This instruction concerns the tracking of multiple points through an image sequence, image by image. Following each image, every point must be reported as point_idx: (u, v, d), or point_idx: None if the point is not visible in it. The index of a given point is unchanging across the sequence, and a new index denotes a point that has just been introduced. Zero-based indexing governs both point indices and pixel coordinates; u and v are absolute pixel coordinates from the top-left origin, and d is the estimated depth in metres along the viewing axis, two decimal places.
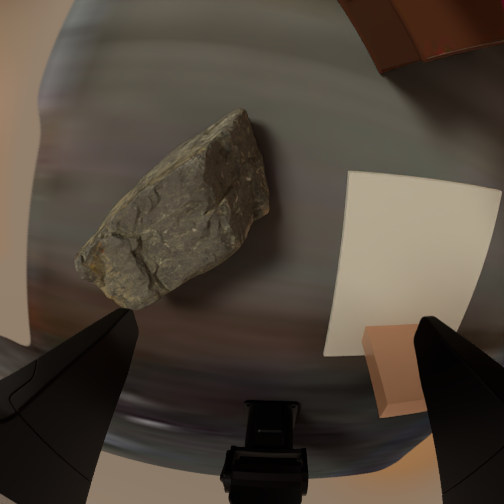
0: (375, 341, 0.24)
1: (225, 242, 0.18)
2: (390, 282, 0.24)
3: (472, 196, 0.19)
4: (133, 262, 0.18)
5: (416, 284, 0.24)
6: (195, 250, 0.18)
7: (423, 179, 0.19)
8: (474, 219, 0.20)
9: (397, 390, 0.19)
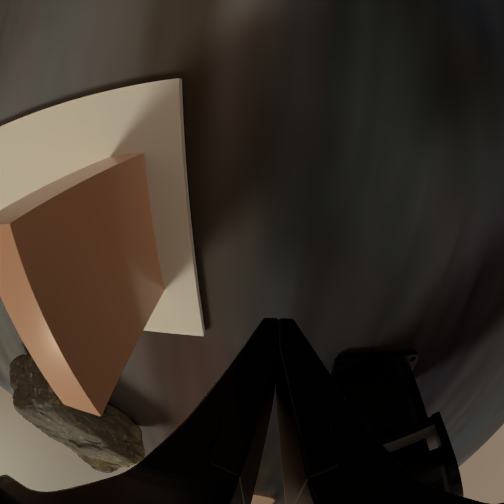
0: None
1: (48, 409, 0.19)
2: None
3: None
4: (85, 448, 0.21)
5: None
6: (60, 423, 0.20)
7: None
8: None
9: None
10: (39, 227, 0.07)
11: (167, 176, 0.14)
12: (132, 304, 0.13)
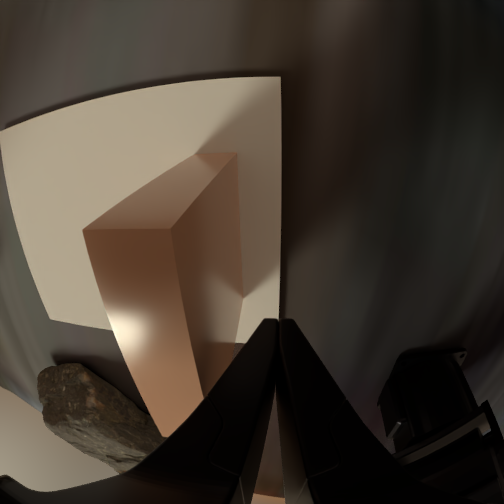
0: None
1: (87, 425, 0.19)
2: None
3: (13, 181, 0.15)
4: (125, 463, 0.21)
5: None
6: (100, 438, 0.19)
7: (25, 252, 0.17)
8: (28, 166, 0.14)
9: None
10: (190, 234, 0.06)
11: (262, 179, 0.14)
12: (231, 317, 0.12)
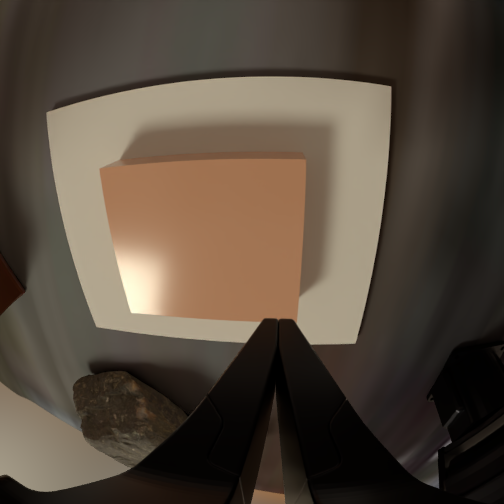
0: None
1: (138, 438, 0.18)
2: None
3: (63, 170, 0.14)
4: None
5: None
6: (151, 451, 0.19)
7: (72, 252, 0.17)
8: (87, 153, 0.14)
9: None
10: (120, 179, 0.12)
11: (369, 183, 0.13)
12: (217, 290, 0.14)
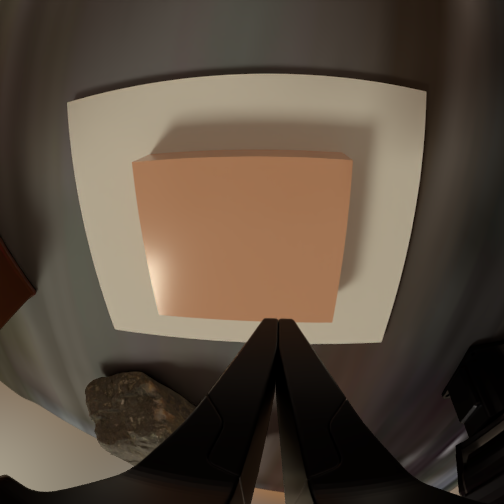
0: None
1: (156, 441, 0.18)
2: None
3: (85, 164, 0.14)
4: None
5: None
6: None
7: (91, 251, 0.16)
8: (113, 146, 0.13)
9: None
10: (155, 174, 0.12)
11: (403, 184, 0.13)
12: (254, 291, 0.14)
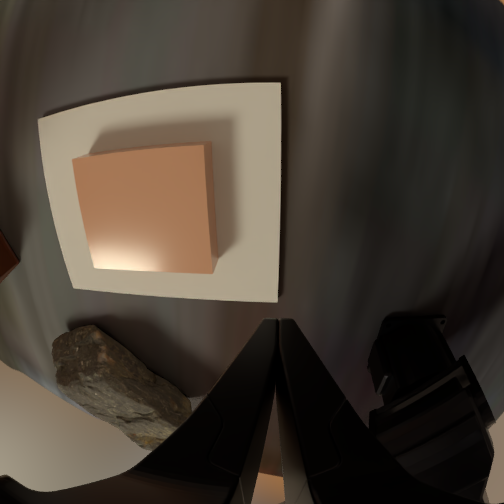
0: None
1: (97, 380, 0.22)
2: None
3: (50, 162, 0.18)
4: (134, 423, 0.24)
5: None
6: (110, 395, 0.22)
7: (55, 225, 0.21)
8: (66, 149, 0.18)
9: None
10: (85, 166, 0.16)
11: (266, 161, 0.17)
12: (151, 246, 0.18)
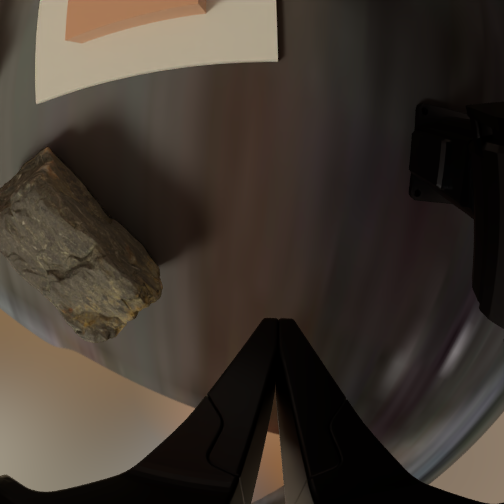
0: None
1: (28, 192, 0.14)
2: None
3: None
4: (69, 281, 0.16)
5: None
6: (40, 219, 0.15)
7: (37, 35, 0.13)
8: None
9: None
10: None
11: None
12: None
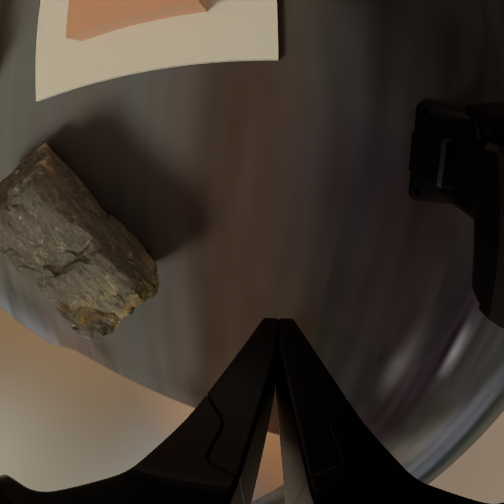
0: None
1: (25, 187, 0.14)
2: None
3: None
4: (65, 276, 0.16)
5: None
6: (36, 214, 0.15)
7: (38, 32, 0.13)
8: None
9: None
10: None
11: None
12: None
